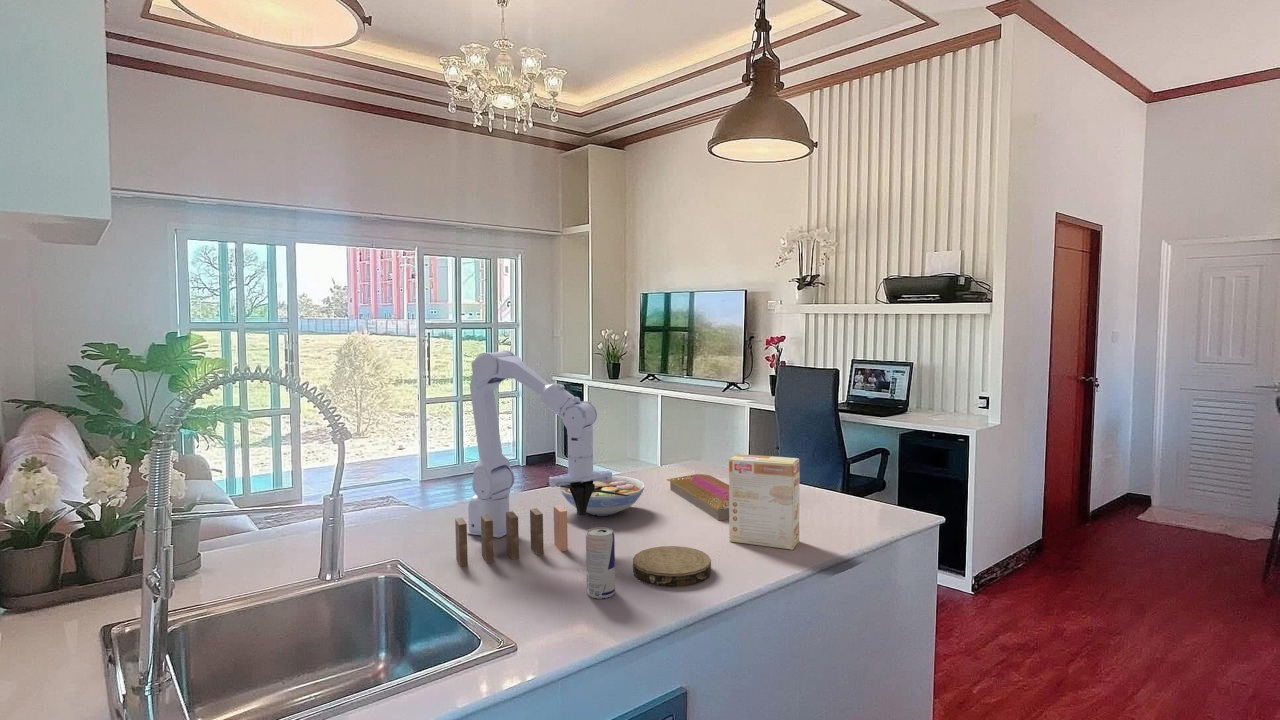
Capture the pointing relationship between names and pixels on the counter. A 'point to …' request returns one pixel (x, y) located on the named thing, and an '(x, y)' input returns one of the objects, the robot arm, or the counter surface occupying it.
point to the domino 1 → (461, 542)
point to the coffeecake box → (764, 500)
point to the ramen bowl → (610, 495)
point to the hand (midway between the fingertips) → (581, 514)
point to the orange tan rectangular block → (560, 528)
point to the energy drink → (600, 562)
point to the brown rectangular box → (703, 493)
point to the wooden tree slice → (672, 566)
